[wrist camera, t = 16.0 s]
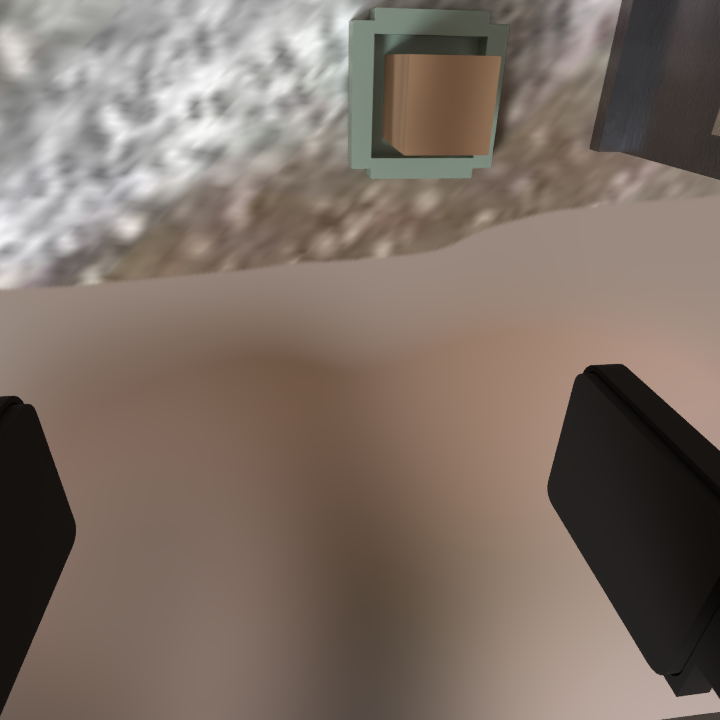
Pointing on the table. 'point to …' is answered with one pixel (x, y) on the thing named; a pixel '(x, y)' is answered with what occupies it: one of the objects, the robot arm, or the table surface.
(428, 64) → the block
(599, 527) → the robot arm
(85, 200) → the table surface
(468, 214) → the table surface
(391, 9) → the tray
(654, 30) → the block
